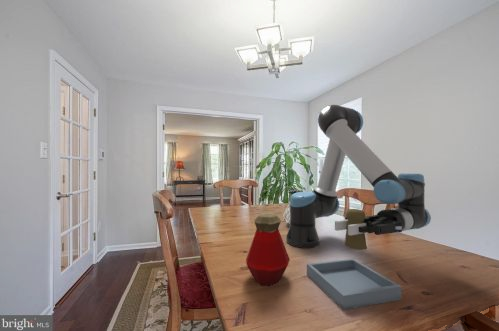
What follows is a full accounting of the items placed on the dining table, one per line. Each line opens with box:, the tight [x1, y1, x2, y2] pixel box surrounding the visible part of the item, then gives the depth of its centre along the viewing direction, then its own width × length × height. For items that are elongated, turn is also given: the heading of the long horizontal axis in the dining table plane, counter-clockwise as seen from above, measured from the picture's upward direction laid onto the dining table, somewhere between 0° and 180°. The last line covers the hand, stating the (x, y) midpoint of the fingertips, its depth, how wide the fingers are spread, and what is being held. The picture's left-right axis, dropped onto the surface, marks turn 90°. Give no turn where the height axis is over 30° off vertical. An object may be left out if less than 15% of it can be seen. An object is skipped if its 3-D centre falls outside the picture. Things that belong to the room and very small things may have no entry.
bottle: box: [245, 212, 291, 287], centre depth 68 cm, size 16×14×20 cm
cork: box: [344, 208, 368, 251], centre depth 64 cm, size 6×6×11 cm
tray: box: [306, 258, 402, 311], centre depth 63 cm, size 18×18×4 cm
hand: (342, 228), depth 61 cm, fingers closed on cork, 4 cm apart
